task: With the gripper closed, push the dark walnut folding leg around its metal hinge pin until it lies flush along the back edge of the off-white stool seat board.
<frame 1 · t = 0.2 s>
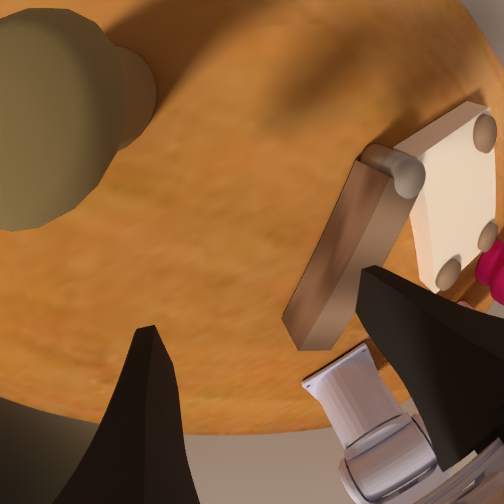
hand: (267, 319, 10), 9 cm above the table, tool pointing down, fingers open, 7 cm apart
folding leg: (352, 253, 19), point 2 cm above the table, hinge at -50.0°
stool seat: (447, 196, 22), on the table
pepper mill: (487, 258, 31), on the table
cork: (100, 100, 12), on the table
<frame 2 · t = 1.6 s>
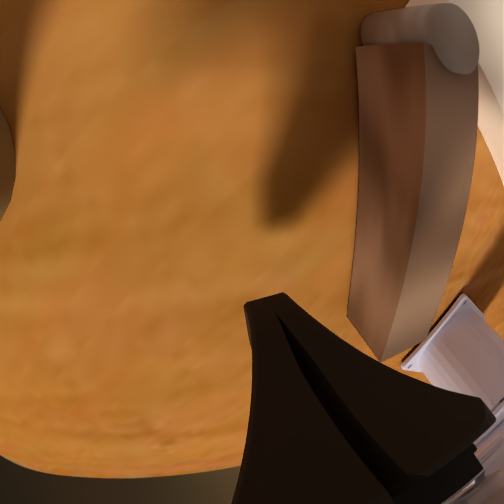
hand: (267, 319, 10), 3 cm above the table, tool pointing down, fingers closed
folding leg: (415, 197, 10), point 2 cm above the table, hinge at -50.0°
stool seat: (499, 66, 10), on the table
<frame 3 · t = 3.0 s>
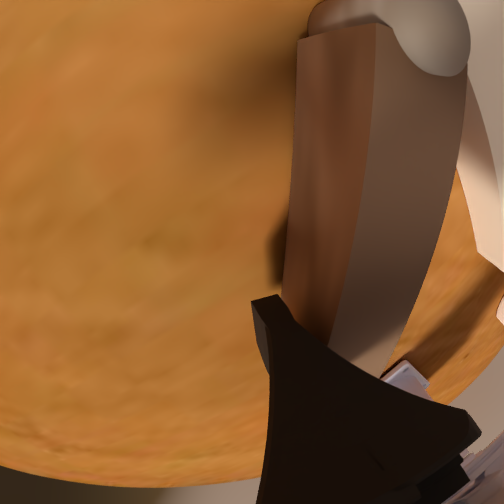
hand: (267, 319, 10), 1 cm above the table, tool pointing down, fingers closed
folding leg: (359, 244, 8), point 2 cm above the table, hinge at -44.3°, touching gripper
stool seat: (498, 105, 10), on the table
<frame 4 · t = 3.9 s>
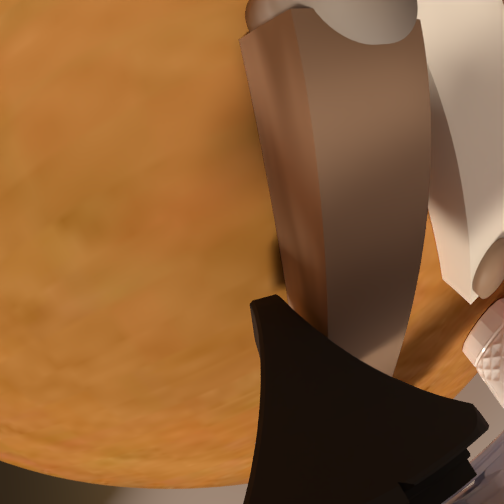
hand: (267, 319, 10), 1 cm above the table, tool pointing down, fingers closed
white cup: (483, 324, 22), on the table
folding leg: (347, 234, 8), point 2 cm above the table, hinge at -24.1°, touching gripper
stool seat: (478, 120, 10), on the table
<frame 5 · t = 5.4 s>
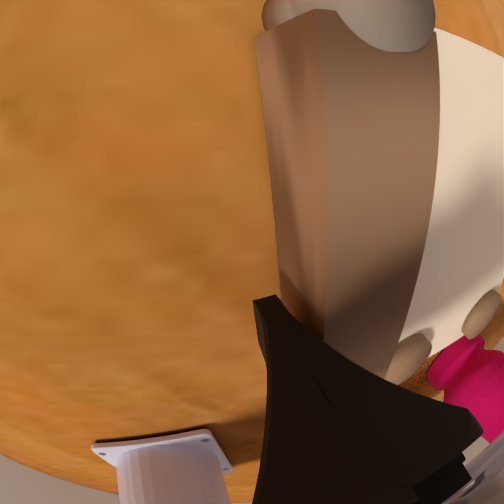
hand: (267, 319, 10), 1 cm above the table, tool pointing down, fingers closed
folding leg: (347, 239, 8), point 2 cm above the table, hinge at 1.0°, touching gripper
stool seat: (442, 212, 12), on the table
pepper mill: (449, 352, 22), on the table
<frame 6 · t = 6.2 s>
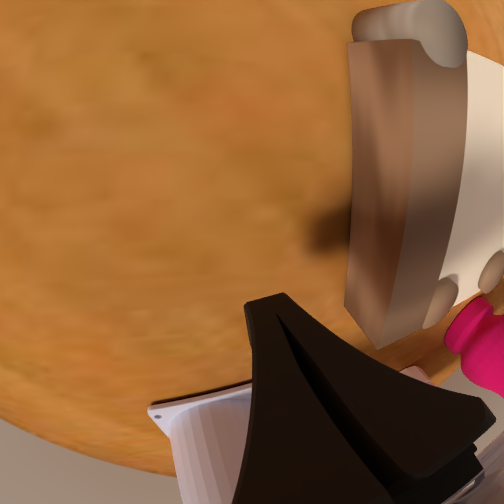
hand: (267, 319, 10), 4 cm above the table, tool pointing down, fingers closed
folding leg: (407, 187, 11), point 2 cm above the table, hinge at 0.9°
stool seat: (460, 183, 14), on the table
pepper mill: (463, 319, 24), on the table
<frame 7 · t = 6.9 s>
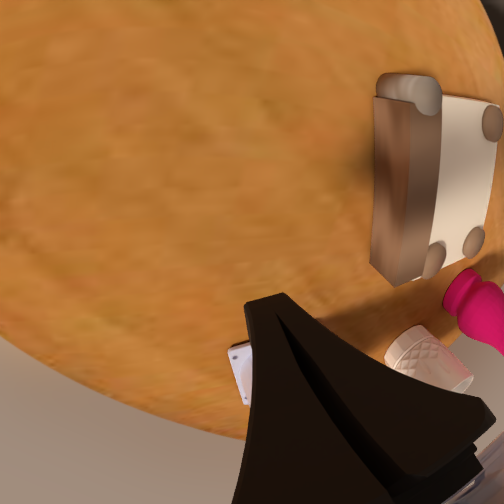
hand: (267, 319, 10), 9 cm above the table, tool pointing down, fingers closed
white cup: (403, 343, 33), on the table
folding leg: (407, 182, 18), point 2 cm above the table, hinge at 0.9°
stool seat: (444, 179, 22), on the table
pepper mill: (457, 288, 31), on the table
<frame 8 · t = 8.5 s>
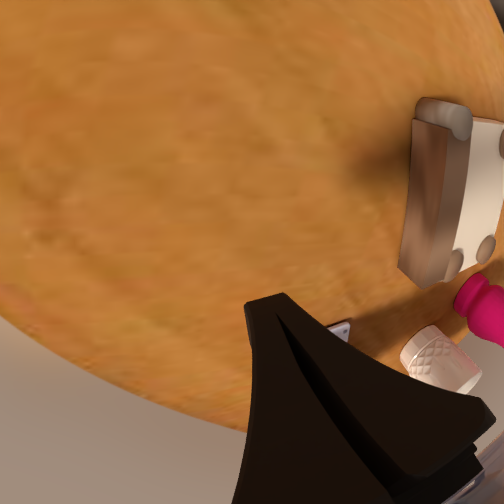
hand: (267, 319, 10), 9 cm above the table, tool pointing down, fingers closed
white cup: (417, 342, 35), on the table
folding leg: (437, 196, 19), point 2 cm above the table, hinge at 0.9°
stool seat: (463, 192, 23), on the table
pepper mill: (466, 290, 33), on the table
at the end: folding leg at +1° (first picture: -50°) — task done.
